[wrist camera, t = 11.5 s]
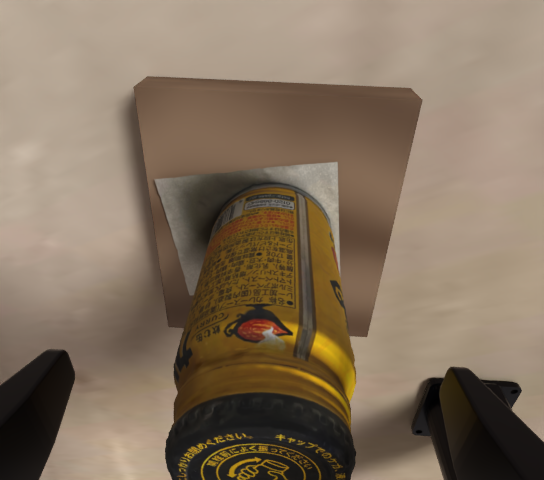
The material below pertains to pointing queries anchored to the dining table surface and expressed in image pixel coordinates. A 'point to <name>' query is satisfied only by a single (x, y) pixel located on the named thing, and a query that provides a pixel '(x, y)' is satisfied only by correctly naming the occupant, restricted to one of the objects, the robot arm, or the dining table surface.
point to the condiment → (261, 327)
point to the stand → (284, 161)
